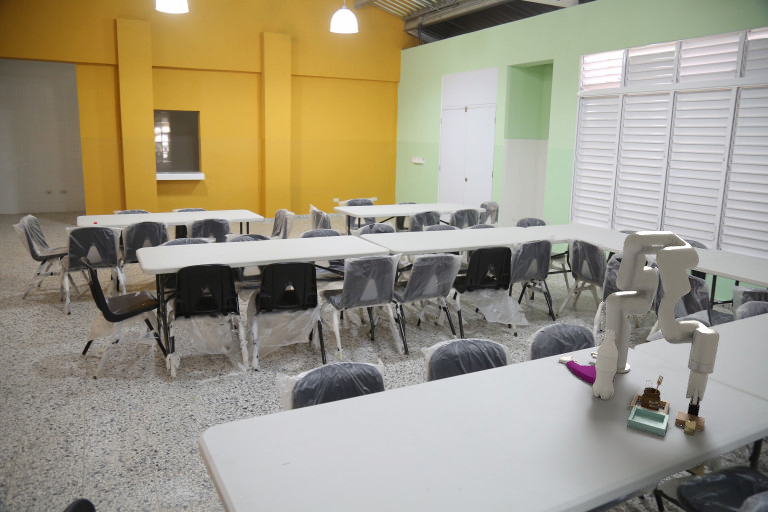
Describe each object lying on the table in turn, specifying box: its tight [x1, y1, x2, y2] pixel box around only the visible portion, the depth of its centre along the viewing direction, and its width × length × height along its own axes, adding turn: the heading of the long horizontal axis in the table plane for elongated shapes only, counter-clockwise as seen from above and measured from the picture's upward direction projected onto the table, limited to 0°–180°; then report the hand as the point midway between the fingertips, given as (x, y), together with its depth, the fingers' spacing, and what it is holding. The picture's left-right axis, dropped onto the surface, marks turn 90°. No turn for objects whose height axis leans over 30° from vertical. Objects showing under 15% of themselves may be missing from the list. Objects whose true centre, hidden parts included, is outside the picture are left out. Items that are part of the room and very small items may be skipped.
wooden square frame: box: [629, 393, 671, 415], centre depth 200 cm, size 11×11×2 cm
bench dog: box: [683, 419, 696, 436], centre depth 185 cm, size 3×3×4 cm
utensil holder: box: [640, 374, 664, 412], centre depth 199 cm, size 6×6×12 cm
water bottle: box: [592, 330, 618, 400], centre depth 206 cm, size 7×7×25 cm
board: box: [674, 410, 706, 432], centre depth 191 cm, size 8×6×2 cm
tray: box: [626, 406, 670, 437], centre depth 190 cm, size 11×11×2 cm
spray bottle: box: [558, 355, 615, 386], centre depth 229 cm, size 3×11×24 cm
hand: (692, 415), depth 195 cm, fingers closed
